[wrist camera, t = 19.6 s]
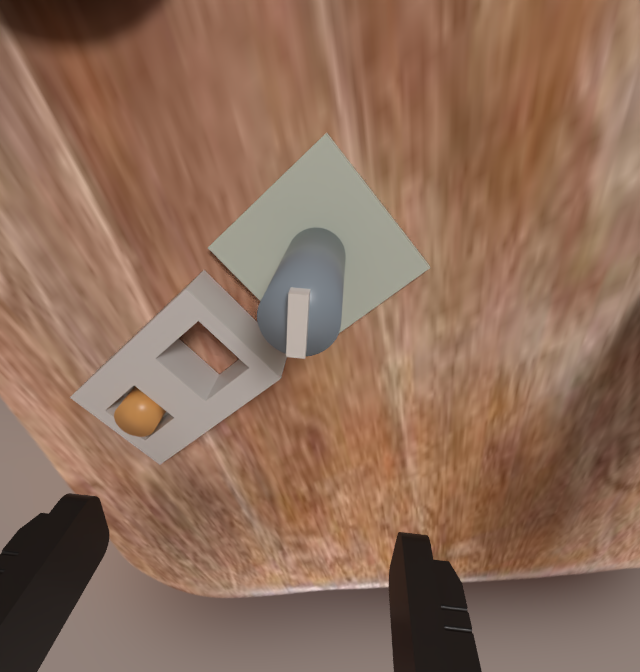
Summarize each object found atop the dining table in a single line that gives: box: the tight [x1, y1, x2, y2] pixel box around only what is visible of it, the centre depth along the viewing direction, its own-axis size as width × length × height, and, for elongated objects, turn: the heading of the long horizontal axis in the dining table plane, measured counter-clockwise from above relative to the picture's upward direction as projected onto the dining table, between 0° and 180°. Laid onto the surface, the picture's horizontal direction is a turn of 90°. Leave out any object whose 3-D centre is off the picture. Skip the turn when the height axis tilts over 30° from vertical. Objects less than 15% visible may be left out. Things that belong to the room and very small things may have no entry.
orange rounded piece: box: [114, 386, 166, 437], centre depth 36 cm, size 4×4×3 cm
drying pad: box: [208, 133, 430, 333], centre depth 31 cm, size 12×12×1 cm
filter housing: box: [70, 270, 287, 464], centre depth 36 cm, size 16×10×4 cm, turn 131°
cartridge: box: [257, 227, 346, 359], centre depth 26 cm, size 4×4×12 cm
